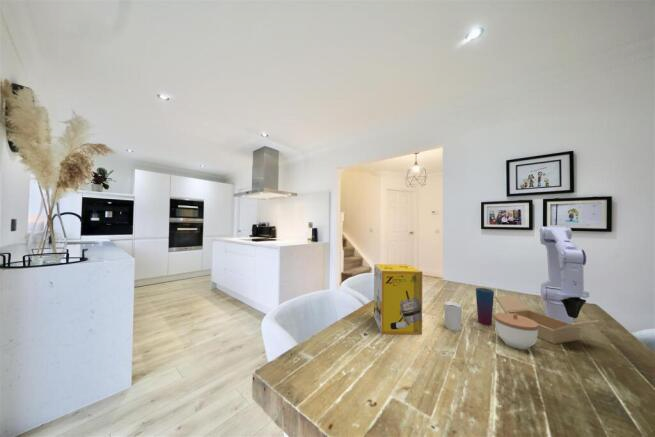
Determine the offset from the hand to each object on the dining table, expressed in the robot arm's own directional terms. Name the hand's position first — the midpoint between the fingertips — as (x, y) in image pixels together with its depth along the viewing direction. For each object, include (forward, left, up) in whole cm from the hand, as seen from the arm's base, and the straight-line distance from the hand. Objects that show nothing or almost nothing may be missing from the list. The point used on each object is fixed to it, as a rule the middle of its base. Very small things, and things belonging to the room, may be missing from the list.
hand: (572, 317), depth 84 cm
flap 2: (+1, +1, -2) cm, 3 cm away
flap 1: (+1, -22, -2) cm, 22 cm away
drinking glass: (+35, -20, -10) cm, 42 cm away
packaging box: (+58, -27, -10) cm, 65 cm away
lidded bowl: (+22, -4, -10) cm, 25 cm away
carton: (+1, -10, -10) cm, 14 cm away
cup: (+17, -21, -10) cm, 29 cm away
